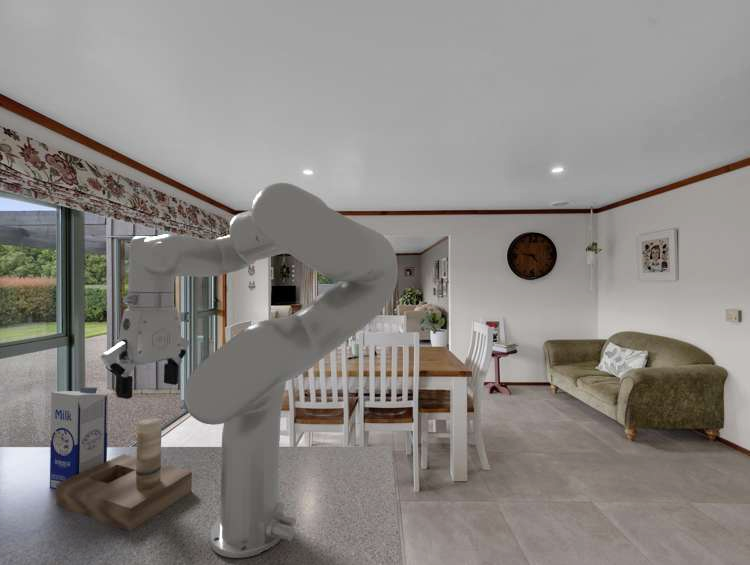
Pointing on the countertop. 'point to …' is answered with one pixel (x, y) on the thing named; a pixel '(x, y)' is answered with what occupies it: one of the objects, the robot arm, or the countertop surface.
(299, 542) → the countertop surface
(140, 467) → the maple peg
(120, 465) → the walnut board
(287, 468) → the countertop surface
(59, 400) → the milk carton
